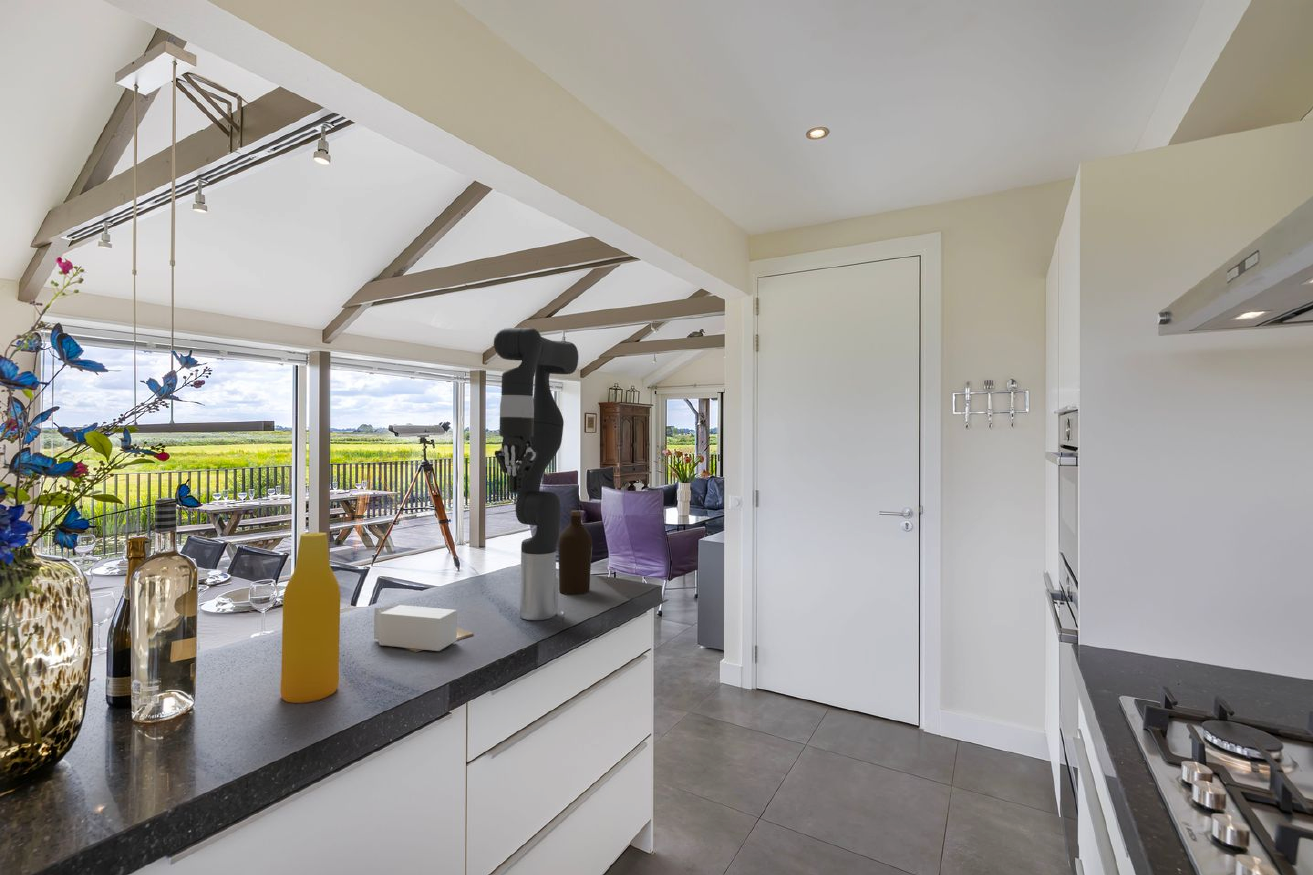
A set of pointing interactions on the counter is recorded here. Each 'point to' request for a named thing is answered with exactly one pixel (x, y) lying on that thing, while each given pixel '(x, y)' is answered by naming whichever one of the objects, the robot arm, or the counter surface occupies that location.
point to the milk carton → (415, 627)
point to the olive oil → (574, 557)
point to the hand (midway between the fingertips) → (515, 492)
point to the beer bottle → (311, 625)
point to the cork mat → (460, 635)
